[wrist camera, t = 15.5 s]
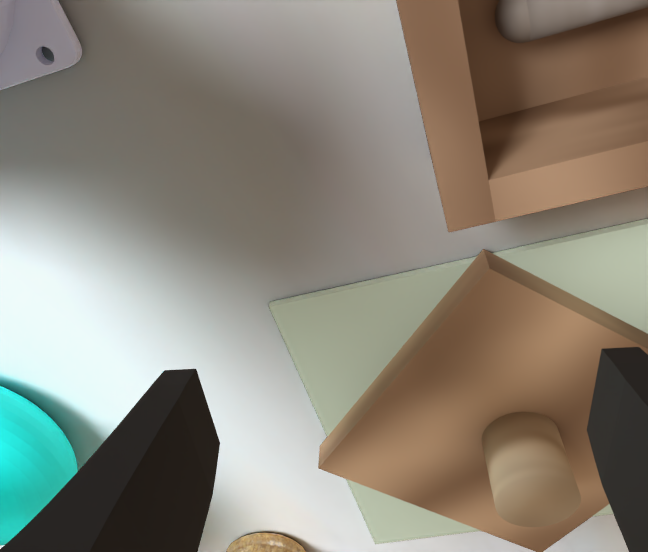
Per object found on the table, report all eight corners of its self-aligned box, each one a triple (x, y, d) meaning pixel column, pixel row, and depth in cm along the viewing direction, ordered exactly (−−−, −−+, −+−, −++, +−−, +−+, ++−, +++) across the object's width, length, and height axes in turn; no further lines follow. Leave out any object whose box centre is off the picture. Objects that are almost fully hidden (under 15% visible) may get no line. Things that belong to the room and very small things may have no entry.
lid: (319, 445, 27) (313, 532, 24) (483, 248, 21) (507, 327, 17) (534, 530, 30) (557, 618, 26) (735, 379, 24) (799, 468, 20)
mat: (375, 538, 31) (375, 544, 31) (269, 302, 23) (268, 306, 23) (709, 495, 28) (712, 501, 28) (732, 200, 20) (736, 204, 19)
